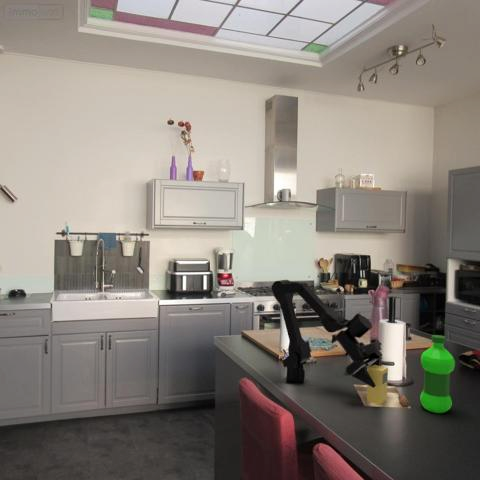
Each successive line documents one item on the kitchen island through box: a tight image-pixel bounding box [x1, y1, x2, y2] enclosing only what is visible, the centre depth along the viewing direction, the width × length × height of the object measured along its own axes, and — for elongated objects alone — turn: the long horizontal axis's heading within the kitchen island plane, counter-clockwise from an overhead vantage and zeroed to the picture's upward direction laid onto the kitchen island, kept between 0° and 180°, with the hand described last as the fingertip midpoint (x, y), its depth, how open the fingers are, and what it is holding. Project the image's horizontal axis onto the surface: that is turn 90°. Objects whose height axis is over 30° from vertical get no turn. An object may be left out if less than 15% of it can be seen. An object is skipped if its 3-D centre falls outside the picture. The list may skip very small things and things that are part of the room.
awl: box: [397, 391, 410, 407], centre depth 169 cm, size 2×10×2 cm, turn 177°
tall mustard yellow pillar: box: [366, 365, 389, 405], centre depth 169 cm, size 5×5×12 cm
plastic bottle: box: [419, 334, 456, 414], centre depth 163 cm, size 10×10×25 cm
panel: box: [353, 384, 411, 409], centre depth 175 cm, size 15×21×1 cm
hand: (380, 383), depth 168 cm, fingers open, 9 cm apart
